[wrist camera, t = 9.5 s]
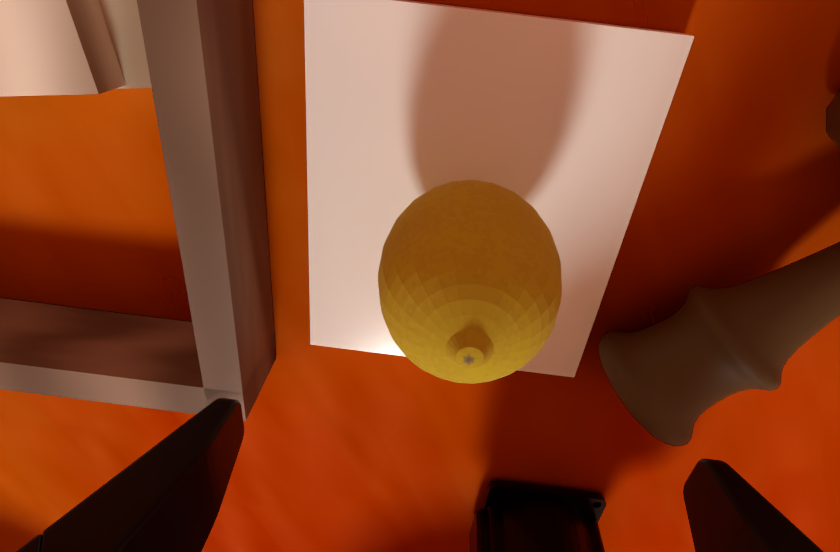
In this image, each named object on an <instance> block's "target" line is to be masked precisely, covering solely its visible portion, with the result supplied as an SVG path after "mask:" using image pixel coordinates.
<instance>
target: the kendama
mask: <svg viewBox="0 0 840 552" xmlns="http://www.w3.org/2000/svg"><path fill="white" fill-rule="evenodd" d="M826 132H827V134H828V135H829V137H830V138H831V139H832V140H833V141H834V142H835V143H836V144H837V145H838V146H839V147H840V91H839V92H838V93H837V95H836V96H835V97H834V99H833V100H832V102H831V103H830V104H829V106H828V107H827V108H826ZM839 315H840V242H838V243H836V244H834V245H832V246H829V247H827V248H825V249H823V250H821V251H818V252H816V253H814V254H812V255H809V256H807V257H805V258H803V259H800V260H798V261H796V262H793V263H791V264H789V265H787V266H784V267H782V268H780V269H777V270H775V271H772V272H770V273H767V274H765V275H762V276H760V277H757V278H755V279H752V280H749V281H746V282H743V283H741V284H737V285H733V286H729V287H724V288H707V287H702V286H694V287H692V288H691V289H690V291H689V293H688V296H687V299H686V301H685V303H684V304H683V306H682V307H681V308H680V309H679V310H678V311H677V312H676V313H674V314H672V315H671V316H669V317H668V318H666V319H664V320H662V321H660V322H659V323H657V324H654V325H652V326H650V327H648V328H645V329H642V330H639V331H636V332H629V333H626V332H617V331H611V332H606V333H605V334H604V335H603V336H602V338H601V340H600V342H599V355H600V361H601V364H602V366H603V369H604V371H605V373H606V375H607V378H608V380H609V382H610V384H611V386H612V388H613V389H614V391H615V392H616V394H617V395H618V397H619V398H620V400H621V401H622V403H623V404H624V405H625V407H626V408H627V410H628V411H629V412H630V414H631V415H632V416H633V417H634V418H635V419H636V420H637V421H638V422H639V423H640V424H641V425H642V426H643V427H644V428H645V429H646V430H647V431H648V432H649V433H650V434H651V435H652V436H654V437H656V438H657V439H659V440H661V441H662V442H664V443H666V444H669V445H672V446H682V445H685V444H688V442H689V441H690V439H691V437H692V433H693V427H694V423H695V421H696V420H697V418H698V417H699V416H700V415H701V414H702V413H703V412H704V411H705V410H706V409H708V408H709V407H711V406H712V405H714V404H715V403H717V402H718V401H720V400H722V399H724V398H726V397H727V396H729V395H732V394H734V393H737V392H739V391H743V390H747V389H761V390H768V391H770V390H776V389H777V388H778V387H779V386H780V384H781V374H782V370H783V367H784V365H785V364H786V362H787V360H788V359H789V358H790V357H791V356H792V355H793V353H794V352H795V351H796V350H797V349H798V348H799V347H801V346H802V345H803V344H804V343H805V342H806V341H807V340H809V339H810V338H811V337H812V336H813V335H815V334H816V333H817V332H818V331H820V330H821V329H822V328H823V327H825V326H826V325H827V324H828V323H830V322H831V321H832V320H834V319H835V318H837V317H838V316H839Z"/></svg>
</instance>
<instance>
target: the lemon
mask: <svg viewBox="0 0 840 552" xmlns="http://www.w3.org/2000/svg"><path fill="white" fill-rule="evenodd" d="M378 287H379V297H380V306H381V311H382V315H383V318H384V320H385V323H386V325H387V328H388V330H389V332H390V335H391V337H392V339H393V341H394V342H395V343H396V344H397V346H398V347H399V348H400V350H401V351H402V352H403V354H404V355H405V356H406V357H407V358H408V359H409V360H410V361H412V362H413V363H414V364H415V365H417V366H418V367H419V368H421V369H422V370H424V371H426V372H428V373H430V374H432V375H434V376H436V377H438V378H441V379H445V380H449V381H453V382H456V383H471V384H474V383H482V382H490V381H493V380H496V379H499V378H502V377H505V376H507V375H510V374H511V373H513V372H515V371H517V370H518V369H520V368H522V367H523V366H525V365H526V364H527V363H528V362H529V361H530V360H531V359H532V358H533V357H534V356H535V355H536V354H537V353H538V352H539V351H540V350H541V349H542V347H543V346H544V344H545V342H546V341H547V339H548V337H549V336H550V334H551V332H552V330H553V328H554V325H555V321H556V318H557V314H558V310H559V307H560V303H561V296H562V279H561V262H560V257H559V254H558V251H557V248H556V245H555V243H554V240H553V237H552V234H551V232H550V230H549V228H548V227H547V225H546V224H545V222H544V221H543V220H542V218H541V217H540V216H539V214H538V213H537V211H536V210H535V209H534V208H533V207H532V206H531V205H530V204H529V203H528V202H526V201H525V200H524V199H522V198H521V197H520V196H519V195H517V194H516V193H515V192H513V191H511V190H509V189H506V188H504V187H502V186H499V185H497V184H495V183H490V182H484V181H478V180H464V181H452V182H449V183H446V184H443V185H440V186H437V187H434V188H432V189H431V190H429V191H427V192H426V193H424V194H423V195H421V196H419V197H418V198H416V199H415V200H413V202H412V203H411V204H410V205H409V206H408V207H407V208H406V209H405V210H404V211H403V212H402V213H401V214H400V216H399V217H398V218H397V219H396V221H395V223H394V225H393V227H392V229H391V231H390V233H389V235H388V237H387V239H386V241H385V243H384V246H383V250H382V255H381V260H380V266H379V271H378Z"/></svg>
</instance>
